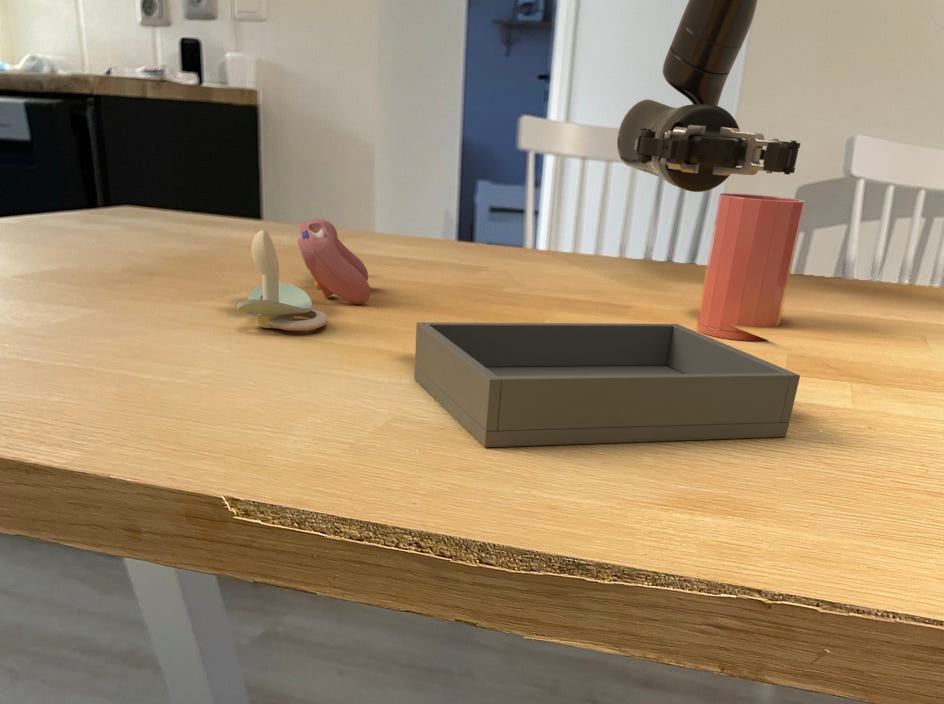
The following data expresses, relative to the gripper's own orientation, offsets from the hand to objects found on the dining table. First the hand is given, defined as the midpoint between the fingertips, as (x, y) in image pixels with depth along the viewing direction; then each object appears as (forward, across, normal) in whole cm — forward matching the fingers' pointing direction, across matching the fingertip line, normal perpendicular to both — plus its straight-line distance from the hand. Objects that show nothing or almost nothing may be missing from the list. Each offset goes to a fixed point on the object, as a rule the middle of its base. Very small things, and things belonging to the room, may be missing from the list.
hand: (732, 154), depth 81 cm
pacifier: (+20, -35, +13) cm, 42 cm away
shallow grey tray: (+37, -15, +12) cm, 42 cm away
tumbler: (+11, 0, +12) cm, 17 cm away
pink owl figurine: (+6, -33, +13) cm, 36 cm away
